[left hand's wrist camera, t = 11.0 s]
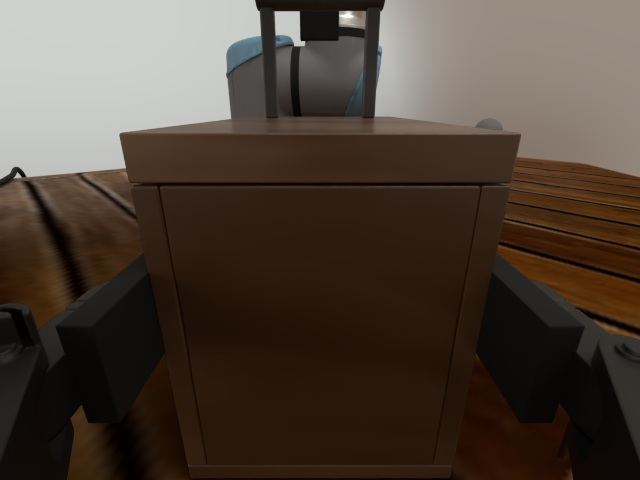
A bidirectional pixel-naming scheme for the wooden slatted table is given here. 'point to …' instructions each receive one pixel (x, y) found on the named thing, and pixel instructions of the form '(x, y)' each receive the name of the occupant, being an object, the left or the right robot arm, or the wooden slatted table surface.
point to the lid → (320, 135)
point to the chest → (320, 321)
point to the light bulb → (489, 124)
